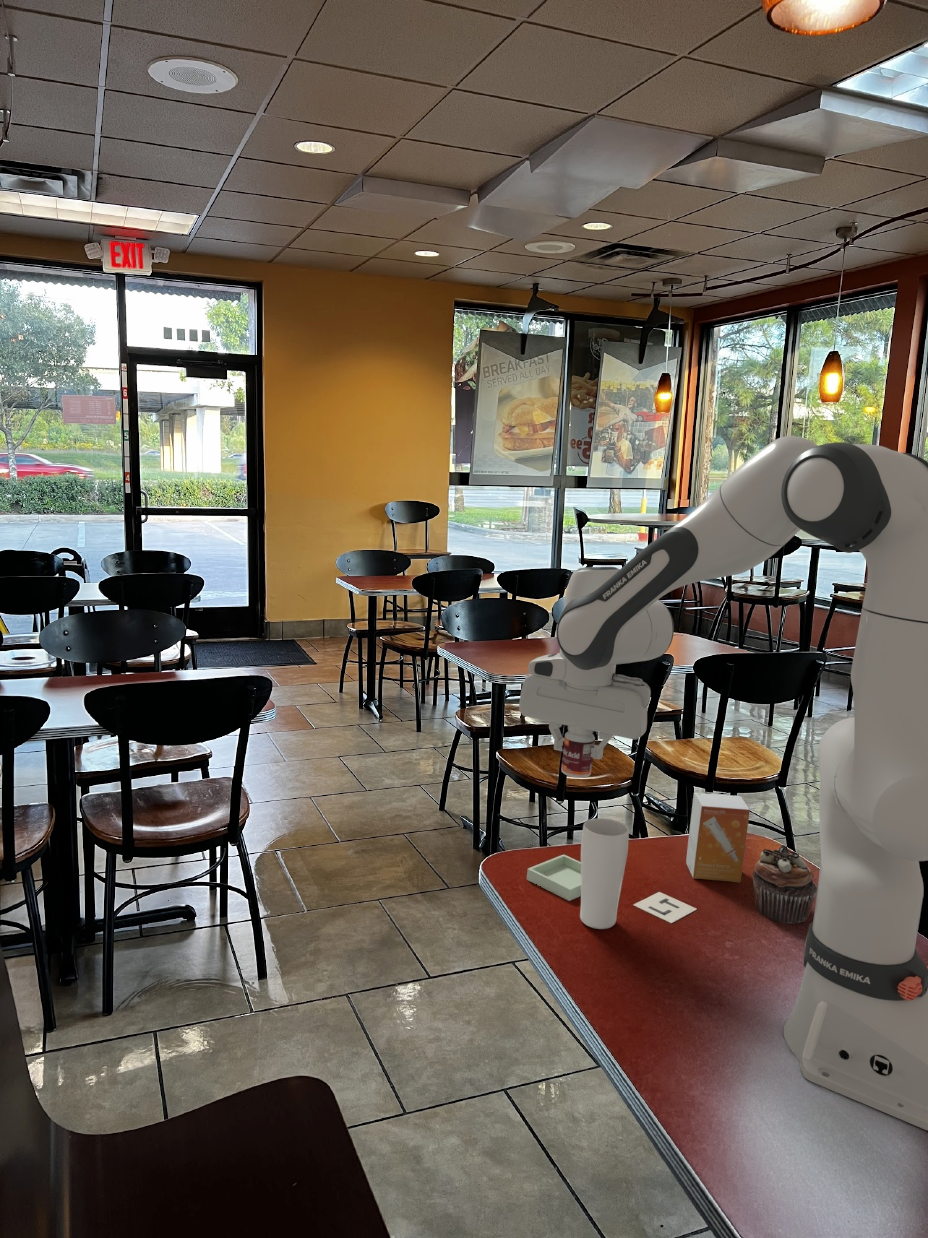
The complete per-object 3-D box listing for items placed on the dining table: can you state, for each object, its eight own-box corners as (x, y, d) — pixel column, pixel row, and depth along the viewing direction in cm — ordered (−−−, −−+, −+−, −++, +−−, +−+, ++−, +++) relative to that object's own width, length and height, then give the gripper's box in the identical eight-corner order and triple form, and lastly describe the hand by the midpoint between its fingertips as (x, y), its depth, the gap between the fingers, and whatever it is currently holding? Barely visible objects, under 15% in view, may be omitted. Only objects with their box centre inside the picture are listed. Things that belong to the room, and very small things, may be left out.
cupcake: (792, 933, 137) (800, 870, 135) (736, 906, 144) (743, 846, 142) (826, 915, 143) (834, 855, 141) (771, 891, 150) (778, 833, 148)
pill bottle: (554, 771, 146) (559, 720, 144) (574, 766, 149) (579, 716, 147) (577, 780, 142) (582, 728, 141) (597, 775, 145) (602, 724, 144)
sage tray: (605, 884, 149) (606, 874, 148) (569, 901, 142) (570, 889, 142) (562, 865, 155) (563, 854, 155) (526, 879, 149) (527, 868, 148)
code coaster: (697, 909, 142) (697, 908, 142) (671, 923, 137) (671, 922, 137) (659, 892, 147) (659, 891, 147) (633, 905, 142) (633, 904, 142)
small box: (692, 880, 152) (700, 805, 150) (685, 863, 158) (692, 791, 156) (741, 883, 152) (750, 809, 150) (732, 866, 158) (740, 795, 156)
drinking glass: (619, 913, 140) (627, 820, 137) (622, 935, 133) (631, 838, 130) (574, 908, 140) (582, 815, 137) (575, 931, 134) (583, 834, 131)
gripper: (657, 676, 141) (647, 762, 143) (534, 654, 149) (527, 736, 152) (646, 684, 135) (636, 774, 138) (519, 661, 144) (511, 745, 146)
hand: (577, 753), depth 145 cm, fingers closed on pill bottle, 5 cm apart
